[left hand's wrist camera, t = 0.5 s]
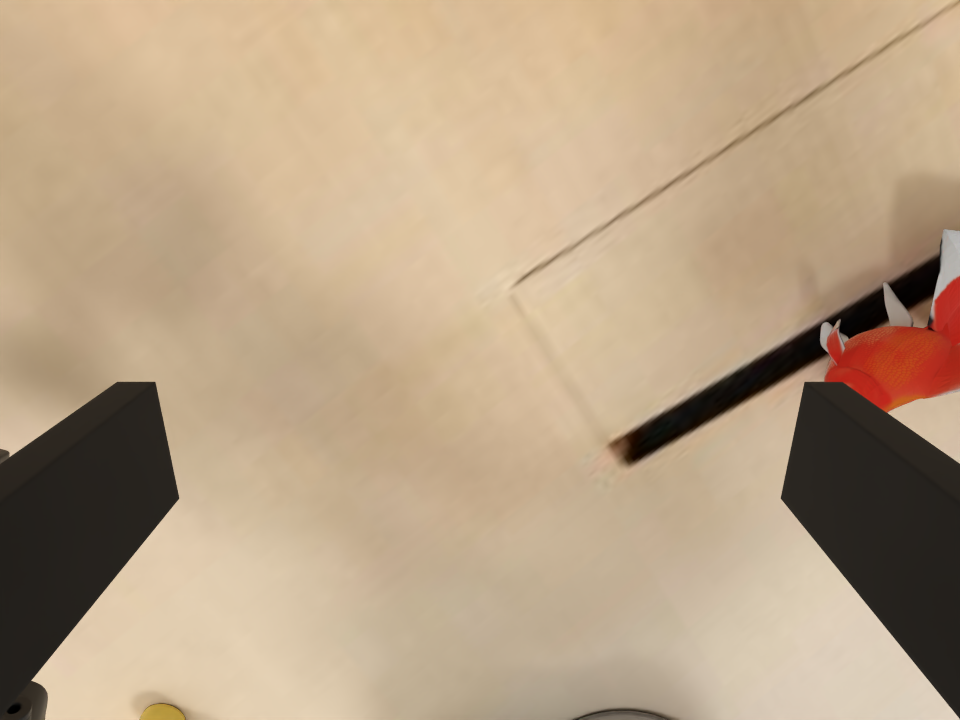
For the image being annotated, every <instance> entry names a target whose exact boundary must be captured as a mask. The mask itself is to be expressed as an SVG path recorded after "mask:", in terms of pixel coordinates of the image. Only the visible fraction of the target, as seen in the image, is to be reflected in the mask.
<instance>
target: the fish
mask: <svg viewBox="0 0 960 720" xmlns="http://www.w3.org/2000/svg"><path fill="white" fill-rule="evenodd" d="M883 287H884V298H885V306H886V309H887V313H888V316H889V321H890V326H887V327H881V328H877V329H873V330H869V331H866V332H863V333H860V334H858V335H856V336H854V337H852V338H850V339H848V337H847V336H846V335H844V334H842V333H840V332H839V327H840V322H841V319H840V320H838V321H837V323H836V325H835V326H834V327H833V326H832V325H830V324H829V323H828V322H825V323H823V324H822V326H821V335H820V342H821V345H822V347H823V348H824V349H825V350H826V351H827V352H828V354H829V356H830V357H831V359H830V361H829V363H828V366H827V369H826V373H825V379H824V382H843V383H845V384H846V385H848V386H849V387H851V388H852V389H853V390H855V391H856V392H858V393H859V394H861V395H862V396H863V397H865V398H866V399H868V400H869V401H871V402H872V403H873V404H875V405H876V406H878V407H879V408H881V409H882V410H883V411H885V412H886V413H887V412H889V411H890V410H892V409H894V408H897V407H899V406H902V405H904V404H907V403H909V402H912V401H914V400H916V399H921V398H923V399H925V398H931V397H936V396H941V395H946V394H950V393H954V392H958V391H960V231H955V230H946V229H944V230H943V234H942V239H941V244H940V269H939V276H938V280H937V285H936V289H935V294H934V298H933V303H932V307H931V312H930V316H929V321H928V326H927V327H925V328H917V327H913V319H912V317H911V315H910V314H909V312H908V311H907V309H906V308H905V307H904V306H903V305H902V303H901V302H900V301H899V299H898V298H897V297H896V295H895V294H894V292H893V291H892V290H891V288H890V286H889V285H888V284H887V283H883Z"/></svg>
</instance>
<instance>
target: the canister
mask: <svg viewBox="0 0 960 720" xmlns="http://www.w3.org/2000/svg"><path fill="white" fill-rule="evenodd" d="M139 720H185V717H184V715H183V714H182V712H181V711H179V710H178V709H177V708H175V707H173V706H170V705H166V704H155V705H152V706H149V707H148V708H147V709H146V710H145V711H144V712H143V714H142V716H141V717H140V719H139Z"/></svg>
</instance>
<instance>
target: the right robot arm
mask: <svg viewBox="0 0 960 720" xmlns="http://www.w3.org/2000/svg"><path fill="white" fill-rule="evenodd" d="M8 458H9V452H8V451H6V450H3V449H0V464H1V463H2V462H4V461H5V460H6V459H8ZM47 701H48V695H47V692H46V690H45V688H44V687H43V686H41V685H40V684H38V683H36V682H33V681H30V683H29V684H28V685H27V686H26V688H25V689H24V690H23V691H22V692H21V694H20V695H19V696H18V697H17V699H16V700H15V701H14V702H13V704H12V705H11V706H10V707H9V708H8V710H7V711H6V712H5V713H4V715H3V716H2V717H1V718H0V720H45V714H46V708H47Z"/></svg>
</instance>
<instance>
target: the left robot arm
mask: <svg viewBox="0 0 960 720" xmlns="http://www.w3.org/2000/svg"><path fill="white" fill-rule="evenodd" d="M178 499H179V495H178V490H177V485H176V480H175V475H174V471H173V466H172V461H171V456H170V451H169V446H168V441H167V437H166V432H165V427H164V422H163V417H162V412H161V407H160V402H159V398H158V393H157V388H156V383H155V382H117V383H115V384H114V385H112V386H111V387H109V388H108V389H107V390H105V391H104V392H102V393H101V394H99V395H98V396H97V397H95V398H94V399H92V400H91V401H89V402H88V403H87V404H85V405H84V406H82V407H81V408H79V409H78V410H77V411H75V412H74V413H72V414H71V415H69V416H68V417H67V418H65V419H64V420H62V421H61V422H59V423H58V424H57V425H55V426H54V427H52V428H51V429H49V430H48V431H47V432H45V433H44V434H42V435H41V436H39V437H38V438H36V439H35V440H34V441H32V442H31V443H29V444H28V445H26V446H25V447H24V448H22V449H21V450H19V451H18V452H16V453H15V454H14V455H12V456H11V457H9V458H8V459H6V460H5V461H4V462H2V463H1V464H0V718H1V717H2V716H3V715H4V713H5V712H6V711H7V710H8V708H9V707H10V706H11V705H12V704H13V702H14V701H15V700H16V699H17V697H18V696H19V695H20V694H21V692H22V691H23V690H24V689H25V688H26V686H27V685H28V684H29V683H30V681H31V680H32V679H33V678H34V676H35V675H36V674H37V673H38V672H39V670H40V669H41V668H42V667H43V665H44V664H45V663H46V662H47V660H48V659H49V658H50V657H51V656H52V654H53V653H54V652H55V651H56V649H57V648H58V647H59V646H60V644H61V643H62V642H63V641H64V640H65V638H66V637H67V636H68V635H69V633H70V632H71V631H72V630H73V628H74V627H75V626H76V625H77V624H78V622H79V621H80V620H81V619H82V617H83V616H84V615H85V614H86V612H87V611H88V610H89V609H90V608H91V606H92V605H93V604H94V603H95V601H96V600H97V599H98V598H99V597H100V595H101V594H102V593H103V592H104V590H105V589H106V588H107V587H108V585H109V584H110V583H111V582H112V581H113V579H114V578H115V577H116V576H117V574H118V573H119V572H120V571H121V569H122V568H123V567H124V566H125V565H126V563H127V562H128V561H129V560H130V558H131V557H132V556H133V555H134V553H135V552H136V551H137V550H138V549H139V547H140V546H141V545H142V544H143V542H144V541H145V540H146V539H147V537H148V536H149V535H150V534H151V533H152V531H153V530H154V529H155V528H156V526H157V525H158V524H159V523H160V521H161V520H162V519H163V518H164V517H165V515H166V514H167V513H168V512H169V510H170V509H171V508H172V507H173V505H174V504H175V503H176V502H177V501H178ZM781 499H782V501H783V502H784V503H785V504H786V505H787V507H788V508H789V509H790V510H791V512H792V513H793V514H794V515H795V517H796V518H797V519H798V520H799V521H800V523H801V524H802V525H803V526H804V528H805V529H806V530H807V531H808V533H809V534H810V535H811V536H812V537H813V539H814V540H815V541H816V542H817V544H818V545H819V546H820V547H821V549H822V550H823V551H824V552H825V553H826V555H827V556H828V557H829V558H830V560H831V561H832V562H833V563H834V565H835V566H836V567H837V568H838V569H839V571H840V572H841V573H842V574H843V576H844V577H845V578H846V579H847V581H848V582H849V583H850V584H851V585H852V587H853V588H854V589H855V590H856V592H857V593H858V594H859V595H860V597H861V598H862V599H863V600H864V601H865V603H866V604H867V605H868V606H869V608H870V609H871V610H872V611H873V612H874V614H875V615H876V616H877V617H878V619H879V620H880V621H881V622H882V624H883V625H884V626H885V627H886V628H887V630H888V631H889V632H890V633H891V635H892V636H893V637H894V638H895V640H896V641H897V642H898V643H899V644H900V646H901V647H902V648H903V649H904V651H905V652H906V653H907V654H908V656H909V657H910V658H911V659H912V660H913V662H914V663H915V664H916V665H917V667H918V668H919V669H920V670H921V672H922V673H923V674H924V675H925V676H926V678H927V679H928V680H929V681H930V683H931V684H932V685H933V686H934V688H935V689H936V690H937V691H938V692H939V694H940V695H941V696H942V697H943V699H944V700H945V701H946V702H947V704H948V705H949V706H950V707H951V708H952V710H953V711H954V712H955V713H956V715H957V716H958V717H959V718H960V464H959V463H958V462H956V461H955V460H954V459H952V458H951V457H949V456H948V455H946V454H945V453H944V452H942V451H941V450H939V449H938V448H936V447H935V446H934V445H932V444H931V443H929V442H928V441H926V440H925V439H924V438H922V437H921V436H919V435H918V434H916V433H915V432H913V431H912V430H911V429H909V428H908V427H906V426H905V425H903V424H902V423H901V422H899V421H898V420H896V419H895V418H893V417H892V416H891V415H889V414H888V413H886V412H885V411H883V410H882V409H881V408H879V407H878V406H876V405H875V404H873V403H872V402H871V401H869V400H868V399H866V398H865V397H863V396H862V395H861V394H859V393H858V392H856V391H855V390H853V389H852V388H851V387H849V386H848V385H846V384H845V383H843V382H805V383H804V388H803V393H802V398H801V402H800V407H799V412H798V417H797V422H796V427H795V432H794V437H793V441H792V446H791V451H790V456H789V461H788V466H787V471H786V475H785V480H784V485H783V490H782V495H781ZM578 720H667V719H665V718H662V717H660V716H656V715H653V714H649V713H644V712H637V711H609V712H603V713H598V714H593V715H590V716H586V717H583V718H580V719H578Z"/></svg>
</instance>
